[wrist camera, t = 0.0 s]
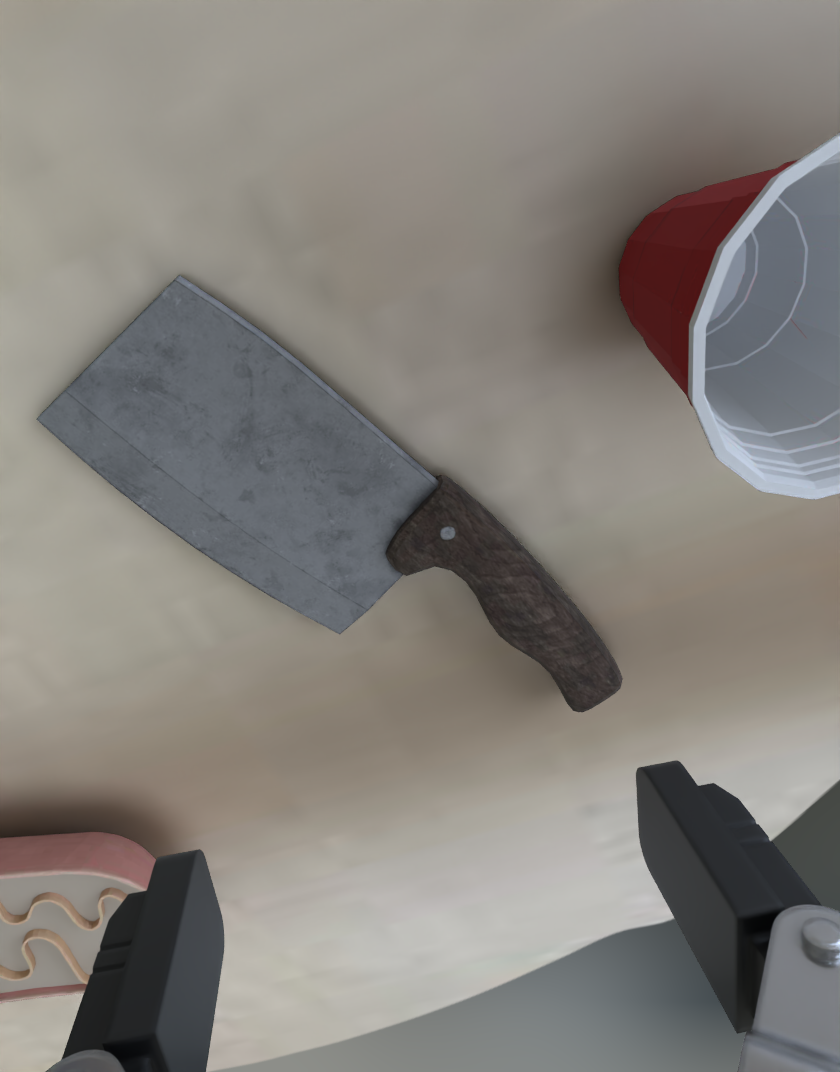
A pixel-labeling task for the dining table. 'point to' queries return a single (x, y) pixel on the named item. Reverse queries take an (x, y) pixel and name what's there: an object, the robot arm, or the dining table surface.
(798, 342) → the plastic cup
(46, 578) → the dining table surface
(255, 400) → the cleaver
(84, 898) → the anatomical model
